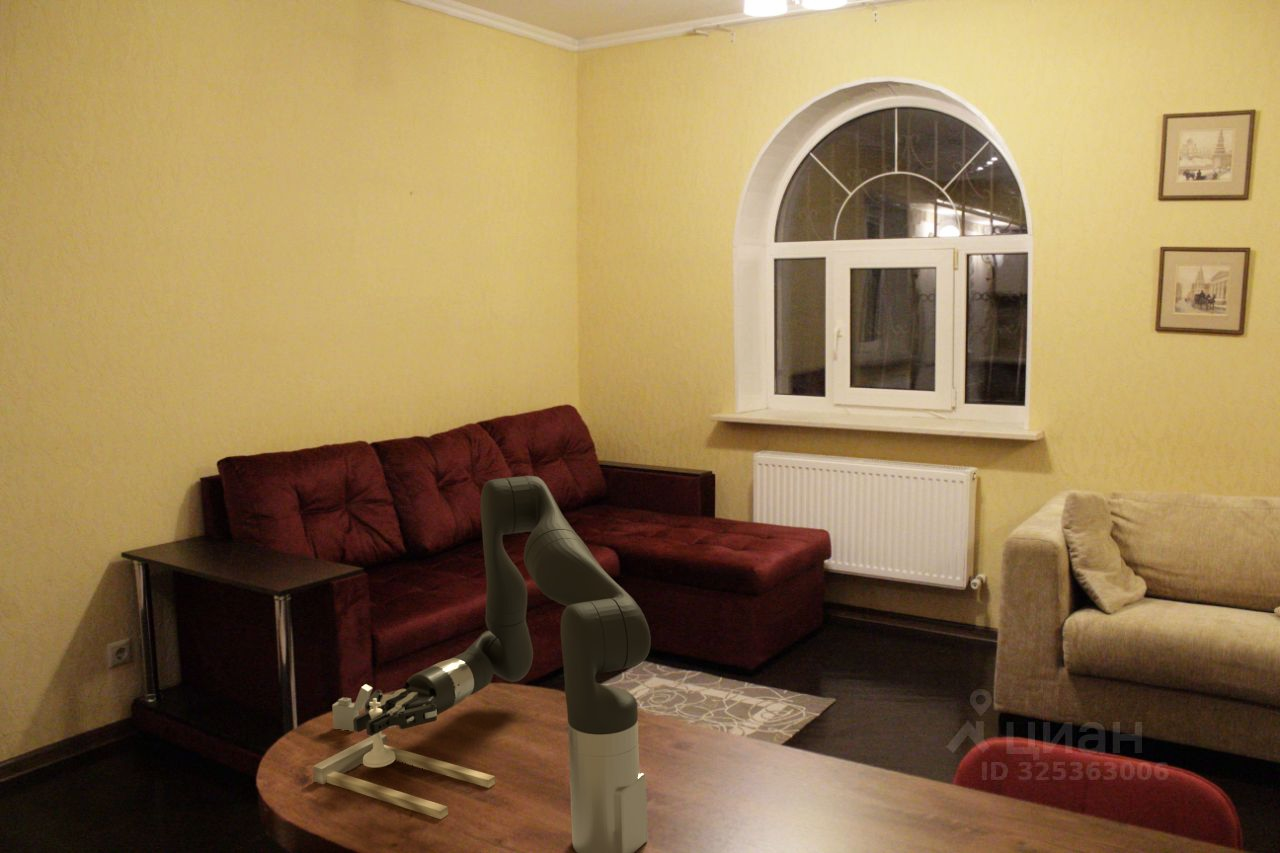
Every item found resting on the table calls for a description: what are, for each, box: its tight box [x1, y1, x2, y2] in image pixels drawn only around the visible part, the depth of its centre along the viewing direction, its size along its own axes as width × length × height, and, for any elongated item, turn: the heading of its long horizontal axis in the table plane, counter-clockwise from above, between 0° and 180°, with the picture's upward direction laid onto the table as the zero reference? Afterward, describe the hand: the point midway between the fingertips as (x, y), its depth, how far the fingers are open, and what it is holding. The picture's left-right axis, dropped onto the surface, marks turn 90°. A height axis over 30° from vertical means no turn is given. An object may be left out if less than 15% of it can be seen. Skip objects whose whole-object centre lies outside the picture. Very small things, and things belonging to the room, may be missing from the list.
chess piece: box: [362, 698, 396, 768], centre depth 161 cm, size 5×5×10 cm
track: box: [312, 733, 496, 820], centre depth 159 cm, size 25×14×2 cm, turn 58°
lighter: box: [332, 683, 373, 732], centre depth 178 cm, size 7×2×8 cm, turn 74°
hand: (362, 727), depth 159 cm, fingers closed on chess piece
